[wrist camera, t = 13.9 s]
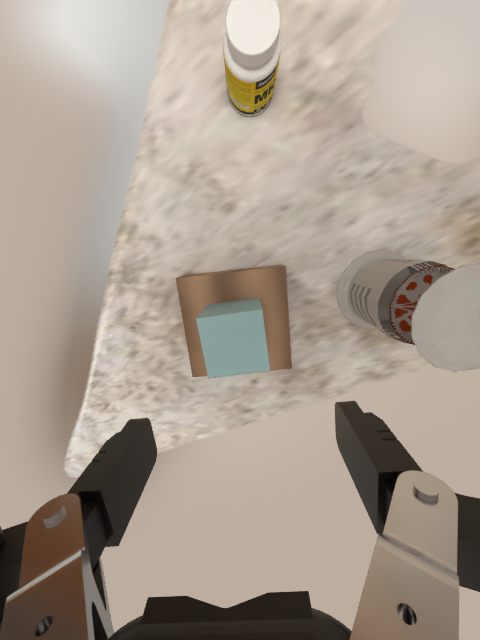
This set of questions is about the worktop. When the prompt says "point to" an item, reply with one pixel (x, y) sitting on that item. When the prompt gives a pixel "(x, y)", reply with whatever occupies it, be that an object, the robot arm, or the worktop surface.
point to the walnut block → (232, 288)
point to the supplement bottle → (251, 54)
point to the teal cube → (233, 338)
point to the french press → (417, 305)
